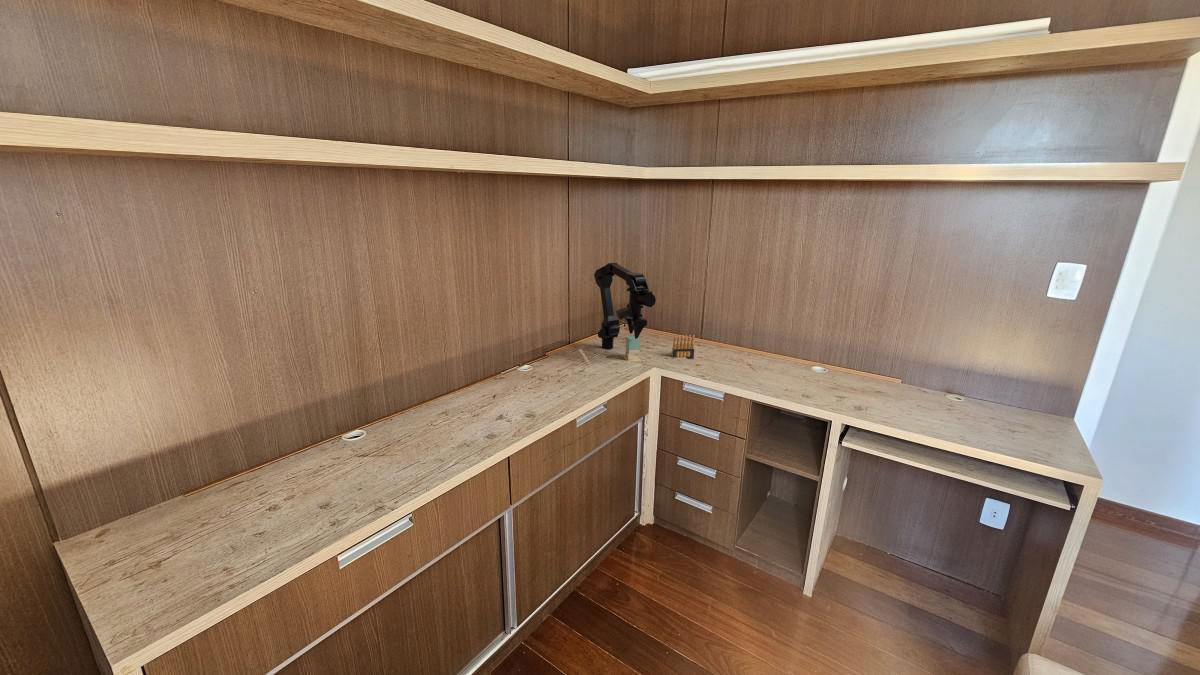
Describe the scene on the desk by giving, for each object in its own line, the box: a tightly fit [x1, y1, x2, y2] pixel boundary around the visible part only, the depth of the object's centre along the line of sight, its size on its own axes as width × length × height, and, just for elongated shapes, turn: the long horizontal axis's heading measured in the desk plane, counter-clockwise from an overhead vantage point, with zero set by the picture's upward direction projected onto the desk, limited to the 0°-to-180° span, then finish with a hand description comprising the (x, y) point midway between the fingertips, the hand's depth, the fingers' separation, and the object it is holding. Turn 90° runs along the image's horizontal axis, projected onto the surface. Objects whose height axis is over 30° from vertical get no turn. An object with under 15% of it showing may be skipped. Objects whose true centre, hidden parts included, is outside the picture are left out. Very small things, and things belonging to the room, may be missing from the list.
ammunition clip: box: [670, 334, 695, 360], centre depth 234 cm, size 11×2×12 cm, turn 101°
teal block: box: [625, 335, 641, 351], centre depth 227 cm, size 5×5×5 cm
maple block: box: [624, 347, 640, 362], centre depth 229 cm, size 5×5×5 cm
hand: (633, 336), depth 226 cm, fingers open, 8 cm apart
